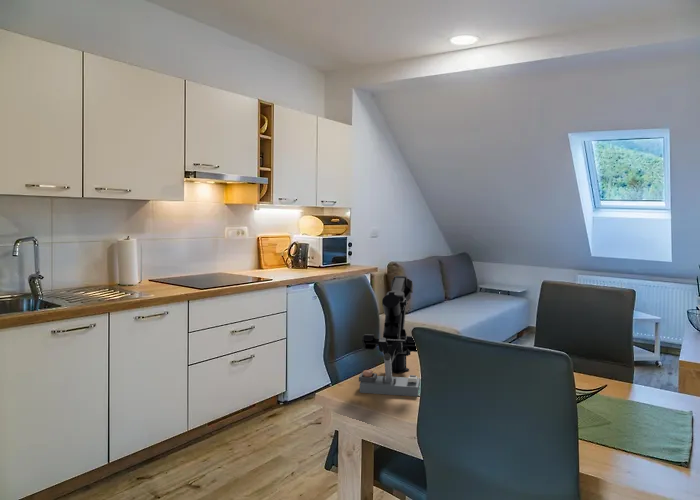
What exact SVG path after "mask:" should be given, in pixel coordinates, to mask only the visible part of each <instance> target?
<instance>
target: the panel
mask: <svg viewBox="0 0 700 500" xmlns="http://www.w3.org/2000/svg"><path fill="white" fill-rule="evenodd" d="M358 382H359V393H360V394H361V393H362V394H375V395H388V396H389V395H390V396H408V397H418V396H419V393H418V390H419V391H420V388H419V386H420V387H421V383H420V382H421V379H420V378H419V377H417V382H408V377H403V376H402V377H400V376H392V382H386V375H378V373H375V372H373V377H363V372H360V373H359V376H358Z"/></svg>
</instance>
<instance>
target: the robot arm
mask: <svg viewBox="0 0 700 500" xmlns="http://www.w3.org/2000/svg"><path fill="white" fill-rule="evenodd" d="M390 281H391V282H390V284H391V285H390V291H387V293H386V295H385V296H384V297H383V298H382V303H381V304H382V307H383V313H384V315H385V318H384V323H383V324H384V326H383V333H382V337H378V338H376V334H373V333H372V334H371V333H370V334H369V333H367V334H366V333H364V334H363V335H362V337H361V342H362V346H363V349H364V350H368V351H369V350H374V349H376V346H378V351H379V352H380V353H382V354H383V355H384V354H385V353H389V354H390V355H391V367H392V373H395V374H400V373H404V372H408V371H410V368H408V367H407V357H408V356H410V355H411V352H415V353H417V350H416V346H415V342H414V340H413V338H412V336H413V335H407V333H406V332H407V331H406V329H405V322H406V309H407V305H408V301H410V300H411V297H412V294H413V293H414V285H413V280H412V279H409V278H408V276H405V275H395V276H393V279H391V280H390Z"/></svg>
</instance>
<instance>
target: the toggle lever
mask: <svg viewBox="0 0 700 500" xmlns="http://www.w3.org/2000/svg"><path fill="white" fill-rule="evenodd" d="M383 360H384V361H383V362H384V371H385V372H384V374H385V375H384V376H386V382H392V377H393V372H392V367H391V355H390V354H389V353H385V354H383Z"/></svg>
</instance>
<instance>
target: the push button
mask: <svg viewBox="0 0 700 500" xmlns="http://www.w3.org/2000/svg"><path fill="white" fill-rule="evenodd" d="M362 373H363V377H373V373H374V371H373V370H371V369H366V370H363V371H362Z"/></svg>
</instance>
